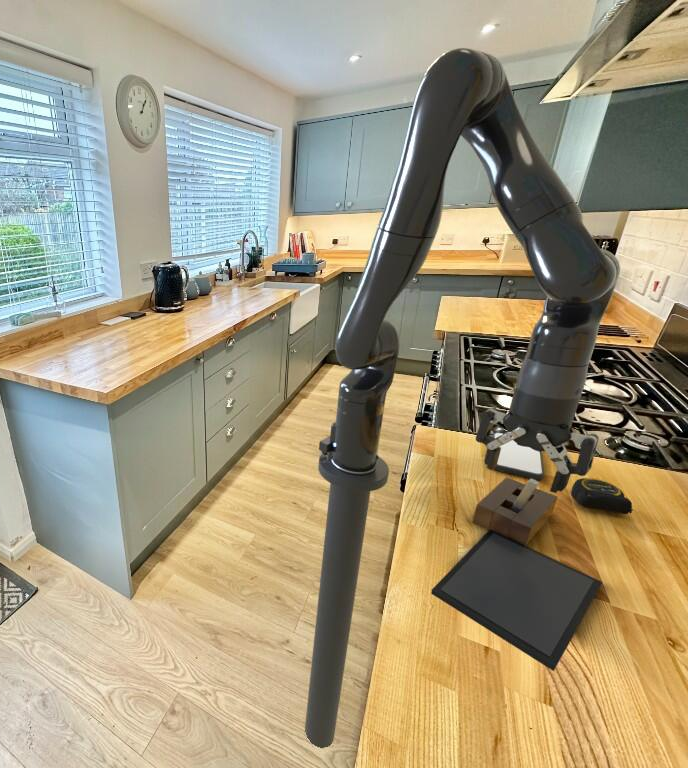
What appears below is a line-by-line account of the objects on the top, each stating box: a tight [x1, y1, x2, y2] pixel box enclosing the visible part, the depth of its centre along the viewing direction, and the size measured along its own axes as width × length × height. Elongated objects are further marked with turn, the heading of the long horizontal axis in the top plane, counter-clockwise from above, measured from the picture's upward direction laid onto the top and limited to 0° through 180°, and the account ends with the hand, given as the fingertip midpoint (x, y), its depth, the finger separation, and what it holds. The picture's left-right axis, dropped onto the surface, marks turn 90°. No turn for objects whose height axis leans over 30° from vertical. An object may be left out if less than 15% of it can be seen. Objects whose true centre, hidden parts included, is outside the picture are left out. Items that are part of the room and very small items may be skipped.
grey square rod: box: [510, 478, 540, 513], centre depth 70 cm, size 1×1×10 cm
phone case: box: [491, 432, 545, 481], centre depth 91 cm, size 9×2×16 cm
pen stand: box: [471, 476, 559, 546], centre depth 73 cm, size 8×13×4 cm, turn 125°
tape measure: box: [570, 477, 634, 515], centre depth 75 cm, size 7×7×4 cm
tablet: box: [430, 529, 603, 672], centre depth 60 cm, size 14×20×1 cm
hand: (521, 478), depth 68 cm, fingers open, 8 cm apart
